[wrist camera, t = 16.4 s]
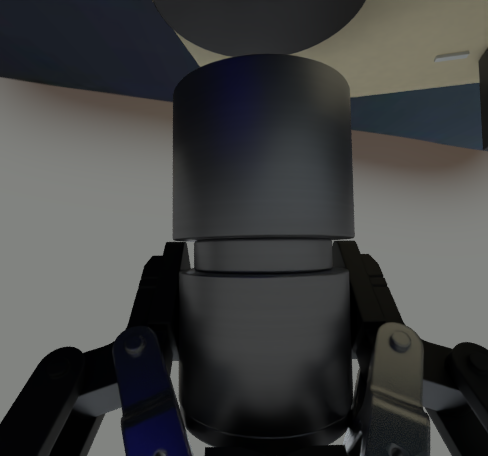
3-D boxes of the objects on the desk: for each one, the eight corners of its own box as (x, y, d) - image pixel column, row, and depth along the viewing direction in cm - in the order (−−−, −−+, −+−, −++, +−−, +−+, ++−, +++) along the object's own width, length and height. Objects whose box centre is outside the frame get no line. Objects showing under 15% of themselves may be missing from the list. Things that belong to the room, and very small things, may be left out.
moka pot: (195, 150, 17) (196, 378, 17) (151, 53, 9) (148, 519, 8) (311, 149, 17) (317, 376, 17) (381, 51, 9) (399, 514, 8)
